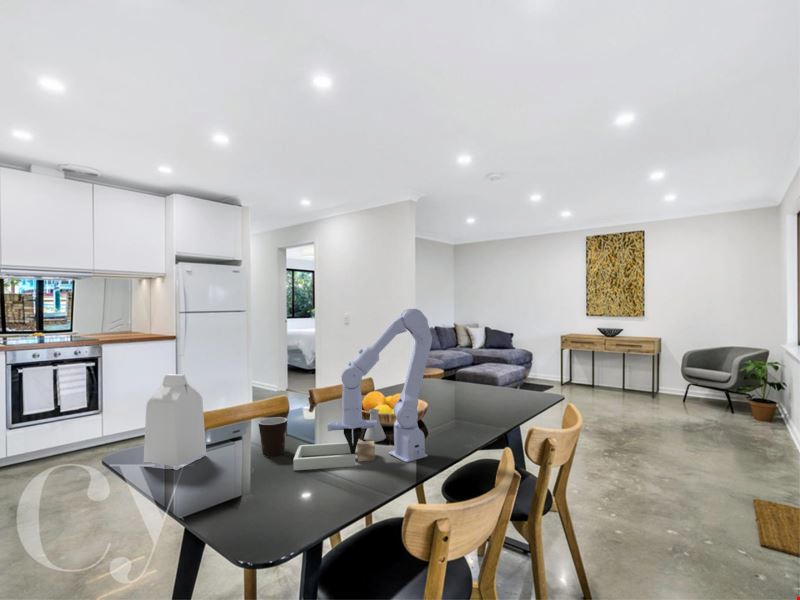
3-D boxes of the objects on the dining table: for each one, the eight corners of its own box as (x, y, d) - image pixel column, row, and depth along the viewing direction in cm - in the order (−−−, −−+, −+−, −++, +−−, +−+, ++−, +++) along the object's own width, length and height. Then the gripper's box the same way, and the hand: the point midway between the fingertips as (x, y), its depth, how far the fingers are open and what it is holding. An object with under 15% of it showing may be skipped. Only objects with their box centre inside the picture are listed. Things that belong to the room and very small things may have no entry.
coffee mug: (279, 458, 122) (278, 425, 122) (253, 457, 123) (252, 424, 124) (296, 445, 133) (296, 415, 133) (272, 444, 135) (272, 414, 135)
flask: (375, 444, 133) (375, 413, 133) (359, 440, 137) (359, 410, 138) (389, 438, 139) (389, 408, 139) (373, 434, 143) (373, 406, 143)
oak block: (374, 454, 123) (373, 441, 124) (375, 460, 119) (374, 446, 119) (357, 455, 123) (357, 442, 123) (357, 461, 118) (357, 447, 118)
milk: (206, 456, 126) (205, 372, 126) (176, 470, 114) (175, 378, 115) (175, 453, 129) (174, 371, 129) (143, 467, 118) (142, 377, 118)
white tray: (354, 451, 126) (354, 441, 126) (355, 466, 114) (354, 455, 114) (298, 455, 124) (298, 445, 124) (293, 470, 112) (293, 459, 112)
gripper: (326, 412, 116) (327, 460, 115) (377, 409, 118) (378, 456, 117) (327, 406, 123) (328, 451, 122) (375, 404, 125) (376, 448, 124)
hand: (353, 453), depth 120 cm, fingers closed
